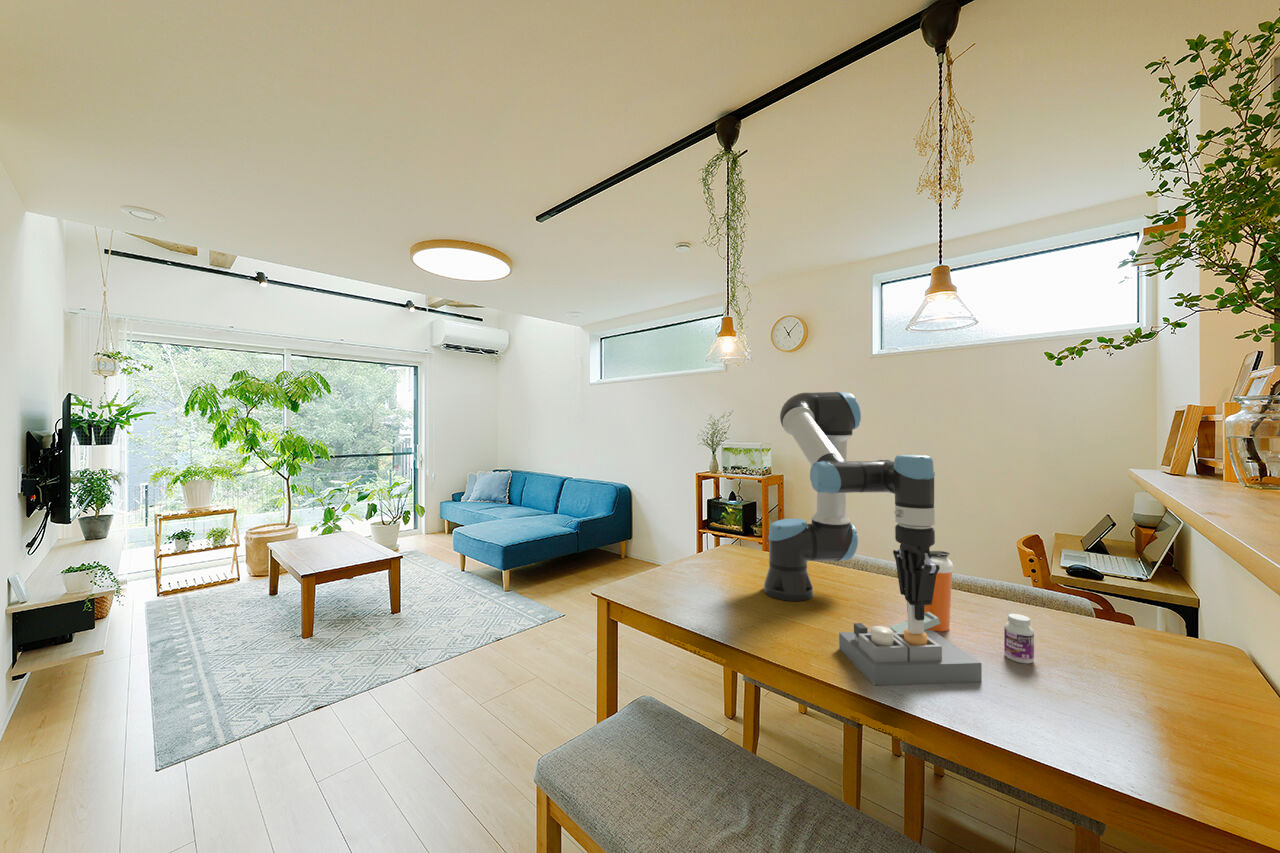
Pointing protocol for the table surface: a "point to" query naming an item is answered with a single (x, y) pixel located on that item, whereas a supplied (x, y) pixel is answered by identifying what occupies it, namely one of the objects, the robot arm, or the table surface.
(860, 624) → the slider
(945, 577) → the shaker bottle
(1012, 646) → the pill bottle
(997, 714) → the table surface
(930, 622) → the block
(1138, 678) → the table surface
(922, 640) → the button
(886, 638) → the button
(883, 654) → the panel
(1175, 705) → the table surface
